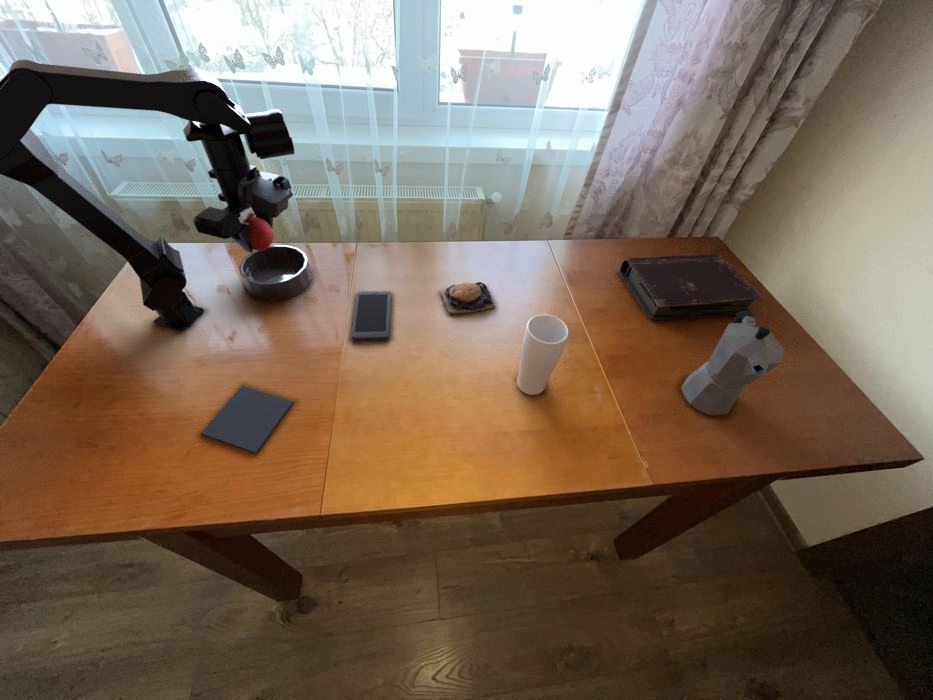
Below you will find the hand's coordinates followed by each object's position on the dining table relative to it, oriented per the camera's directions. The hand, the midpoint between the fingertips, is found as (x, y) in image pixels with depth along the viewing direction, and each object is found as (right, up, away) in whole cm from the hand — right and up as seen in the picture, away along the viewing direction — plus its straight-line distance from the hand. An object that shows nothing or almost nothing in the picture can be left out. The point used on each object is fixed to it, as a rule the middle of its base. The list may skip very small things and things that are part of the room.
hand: (259, 243), depth 78 cm
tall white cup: (+52, -27, -4) cm, 59 cm away
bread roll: (+41, -10, +11) cm, 43 cm away
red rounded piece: (0, -1, +1) cm, 2 cm away
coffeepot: (+86, -29, -2) cm, 91 cm away
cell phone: (+21, -14, +5) cm, 25 cm away
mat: (+5, -32, -12) cm, 35 cm away
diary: (+92, -8, +17) cm, 93 cm away
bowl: (-1, -5, +11) cm, 12 cm away
